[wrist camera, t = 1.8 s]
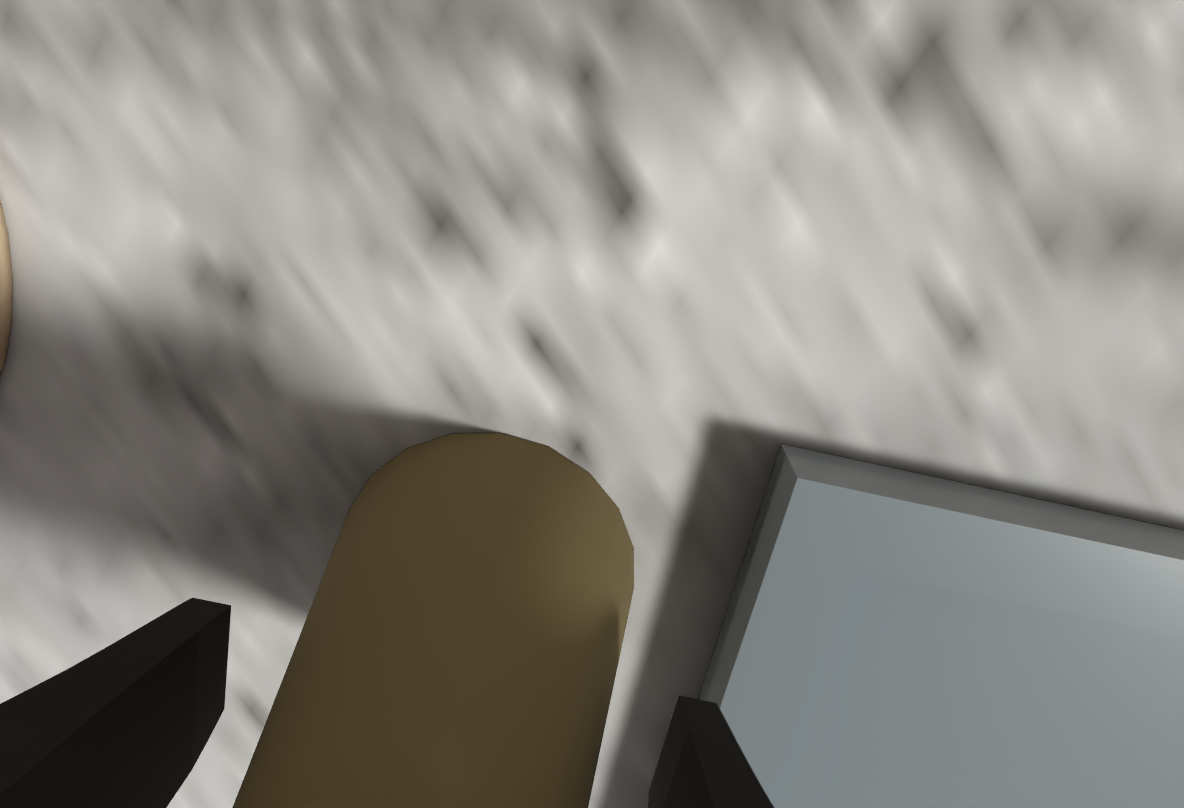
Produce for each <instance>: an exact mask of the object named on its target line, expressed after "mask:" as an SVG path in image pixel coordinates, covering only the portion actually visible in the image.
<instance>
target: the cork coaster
mask: <svg viewBox="0 0 1184 808" xmlns="http://www.w3.org/2000/svg"><path fill="white" fill-rule="evenodd" d="M12 293H13V275H12V266H11V256H10V247H9V237H8V230H7V226H6V222H5V217H4V213H3V209H2V205H1V200H0V374H1V371H2V368H3V366H4V363H5V357H6V352H7V346H8V340H9V335H10V329H11V323H12Z"/></svg>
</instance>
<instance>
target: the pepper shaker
mask: <svg viewBox="0 0 1184 808" xmlns="http://www.w3.org/2000/svg"><path fill="white" fill-rule="evenodd" d="M633 589H634V548H633V545H632V542H631V540H630V537H629V535H628V532H627V529H626V527H625V524H624V521H623V519H622V516H621V513H620V511H619V508H618V507H617V505H616V504H615V503H614V502H613V501H612V499H611V498H610V497H609V496H608V495H607V493H606V492H605V491H604V490H603V489H602V487H601V486H600V485H599V484H598V483H597V481H596V480H595V479H594V478H593V476H592V475H591V474H590V473H589V472H587V471H586V470H584V469H583V468H581V467H580V466H578V465H577V464H575V463H573V462H572V461H570V460H569V459H567V458H566V457H564V456H563V455H561V454H560V453H558V452H556V451H555V450H553V449H552V448H550V447H548V446H545V445H541V444H538V443H534V442H531V441H527V440H524V439H521V438H517V437H514V436H510V435H507V434H503V433H453V434H449V435H446V436H443V437H440V438H437V439H434V440H431V441H428V442H424V443H421V444H418V445H415V446H412V447H409V448H407V449H406V450H404V451H403V452H402V453H400V454H399V455H398V456H396V457H395V458H394V459H392V460H391V461H389V462H388V463H387V464H385V465H384V466H383V467H381V468H380V469H379V470H377V471H376V472H375V473H373V474H372V476H371V477H370V479H369V480H368V482H367V483H366V485H365V486H364V488H363V489H362V491H361V492H360V494H359V495H358V497H357V498H356V500H355V501H354V503H353V504H352V506H351V507H350V509H349V512H348V514H347V517H346V519H345V522H344V524H343V527H342V530H341V532H340V535H339V537H338V540H337V542H336V545H335V547H334V550H333V553H332V555H331V558H330V560H329V563H328V565H327V568H326V570H325V573H324V576H323V578H322V581H321V583H320V586H319V588H318V591H317V593H316V596H315V598H314V601H313V604H312V606H311V609H310V611H309V614H308V616H307V619H306V621H305V624H304V627H303V629H302V632H301V634H300V637H299V639H298V642H297V644H296V647H295V650H294V652H293V655H292V657H291V660H290V662H289V665H288V667H287V670H286V673H285V675H284V678H283V680H282V683H281V685H280V688H279V690H278V693H277V696H276V698H275V701H274V703H273V706H272V708H271V711H270V713H269V716H268V719H267V721H266V724H265V726H264V729H263V731H262V734H261V736H260V739H259V742H258V744H257V747H256V749H255V752H254V754H253V757H252V759H251V762H250V765H249V767H248V770H247V772H246V775H245V777H244V780H243V782H242V785H241V788H240V790H239V793H238V795H237V798H236V800H235V803H234V805H233V808H588V805H589V800H590V795H591V790H592V786H593V781H594V776H595V771H596V766H597V762H598V757H599V752H600V747H601V742H602V738H603V733H604V728H605V723H606V719H607V714H608V709H609V704H610V699H611V695H612V690H613V685H614V680H615V675H616V671H617V666H618V661H619V656H620V652H621V647H622V642H623V637H624V632H625V628H626V623H627V618H628V613H629V609H630V604H631V599H632V594H633Z"/></svg>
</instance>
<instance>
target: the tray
mask: <svg viewBox="0 0 1184 808" xmlns="http://www.w3.org/2000/svg"><path fill="white" fill-rule="evenodd" d="M698 699H699V700H704V701H709V702H714V703H717V705H718V707H719V708H720V710H721V712H722V713H723V715H724V717H725V719H726V721H727V723H728V725H729V727H730V729H731V731H732V733H733V734H734V736H735V738H736V740H737V742H738V744H739V746H740V748H741V750H742V751H743V753H744V755H745V757H746V759H747V761H748V762H749V764H750V766H751V768H752V770H753V772H754V773H755V775H756V777H757V779H758V780H759V782H760V784H761V786H762V787H763V789H764V791H765V793H766V794H767V796H768V798H769V799H770V801H771V803H772V804H773V806H774V808H1184V531H1183V530H1179V529H1174V528H1169V527H1165V526H1160V525H1155V524H1151V523H1146V522H1141V521H1137V520H1132V519H1127V518H1123V517H1118V516H1113V515H1109V514H1104V513H1100V512H1095V511H1090V510H1086V509H1081V508H1076V507H1072V506H1067V505H1062V504H1058V503H1053V502H1048V501H1044V500H1039V499H1034V498H1030V497H1025V496H1020V495H1016V494H1011V493H1006V492H1002V491H997V490H993V489H988V488H983V487H979V486H974V485H969V484H965V483H960V482H955V481H951V480H946V479H941V478H937V477H932V476H927V475H923V474H918V473H913V472H909V471H904V470H899V469H895V468H890V467H886V466H881V465H876V464H872V463H867V462H862V461H858V460H853V459H848V458H844V457H839V456H834V455H830V454H825V453H820V452H816V451H811V450H806V449H802V448H797V447H792V446H788V445H783V444H781V446H780V449H779V452H778V455H777V458H776V461H775V464H774V468H773V471H772V474H771V477H770V480H769V483H768V486H767V489H766V492H765V495H764V498H763V501H762V504H761V508H760V511H759V514H758V517H757V520H756V523H755V526H754V529H753V532H752V535H751V538H750V541H749V544H748V548H747V551H746V554H745V557H744V560H743V563H742V566H741V569H740V572H739V575H738V578H737V581H736V584H735V588H734V591H733V594H732V597H731V600H730V603H729V606H728V609H727V612H726V615H725V618H724V621H723V624H722V628H721V631H720V634H719V637H718V640H717V643H716V646H715V649H714V652H713V655H712V658H711V661H710V664H709V668H708V671H707V674H706V677H705V680H704V683H703V686H702V689H701V692H700V695H699V698H698Z"/></svg>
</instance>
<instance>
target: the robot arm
mask: <svg viewBox="0 0 1184 808" xmlns="http://www.w3.org/2000/svg"><path fill="white" fill-rule="evenodd" d="M230 614H231V605H226V604H221V603H216V602H211V601H206V600H201V599H196V598H191V599H189V600H187V601H186V602H184V603H182V604H180V605H178V606H177V607H175V608H173V609H172V610H170V611H168V612H166V613H165V614H163V615H161V616H160V617H158V618H156V619H154V620H153V621H151V622H149V623H148V624H146V625H144V626H142V627H141V628H139V629H137V630H136V631H134V632H132V633H130V634H129V635H127V636H125V637H124V638H122V639H120V640H118V641H117V642H115V643H113V644H112V645H110V646H108V647H106V648H105V649H103V650H101V651H99V652H97V653H96V654H94V655H92V656H90V657H89V658H87V659H85V660H83V661H81V662H80V663H78V664H76V665H74V666H73V667H71V668H69V669H67V670H65V671H63V672H62V673H60V674H58V675H56V676H54V677H52V678H50V679H48V680H46V681H44V682H42V683H40V684H38V685H36V686H34V687H32V688H30V689H28V690H27V691H25V692H23V693H21V694H19V695H17V696H15V697H13V698H11V699H9V700H7V701H5V702H3V703H1V704H0V808H166V807H167V806H168V804H169V803H170V801H171V800H172V798H173V797H174V795H175V794H176V792H177V791H178V790H179V788H180V787H181V785H182V784H183V782H184V781H185V779H186V778H187V776H188V775H189V773H190V772H191V770H192V768H193V767H194V765H195V763H196V761H197V759H198V758H199V756H200V754H201V752H202V750H203V748H204V747H205V745H206V743H207V741H208V739H209V737H210V735H211V733H212V731H213V729H214V728H215V726H216V724H217V722H218V720H219V718H220V716H221V714H222V712H223V710H224V704H225V689H226V674H227V659H228V644H229V629H230ZM648 808H774V806H773V804H772V803H771V801H770V799H769V798H768V796H767V794H766V793H765V791H764V789H763V787H762V786H761V784H760V782H759V780H758V779H757V777H756V775H755V773H754V772H753V770H752V768H751V766H750V764H749V762H748V761H747V759H746V757H745V755H744V753H743V751H742V750H741V748H740V746H739V744H738V742H737V740H736V738H735V736H734V734H733V733H732V731H731V729H730V727H729V725H728V723H727V721H726V719H725V717H724V715H723V713H722V712H721V710H720V708H719V707H718V705H717V703H714V702H709V701H704V700H699V699H694V698H689V697H684V696H679V698H678V701H677V704H676V707H675V710H674V714H673V717H672V720H671V723H670V726H669V729H668V733H667V736H666V739H665V742H664V745H663V749H662V752H661V755H660V758H659V761H658V765H657V768H656V771H655V774H654V777H653V780H652V784H651V787H650V790H649V802H648Z"/></svg>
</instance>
